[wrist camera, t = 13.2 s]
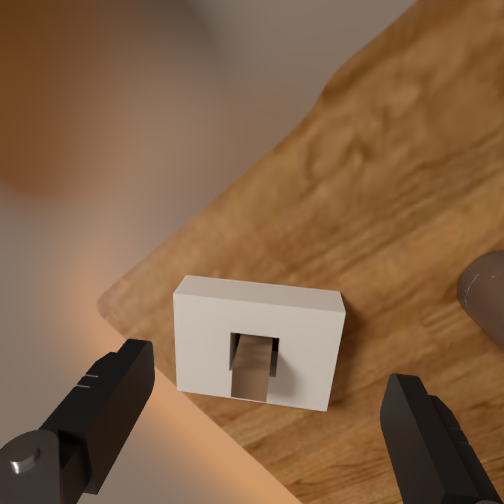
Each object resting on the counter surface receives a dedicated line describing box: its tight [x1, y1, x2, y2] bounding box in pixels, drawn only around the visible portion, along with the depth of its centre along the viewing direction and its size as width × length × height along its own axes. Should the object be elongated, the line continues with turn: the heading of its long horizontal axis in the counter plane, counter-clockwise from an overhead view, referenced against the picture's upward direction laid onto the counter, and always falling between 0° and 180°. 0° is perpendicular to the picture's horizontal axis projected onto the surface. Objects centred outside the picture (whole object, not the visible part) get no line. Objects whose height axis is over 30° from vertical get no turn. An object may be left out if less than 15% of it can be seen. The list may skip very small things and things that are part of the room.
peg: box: [231, 334, 273, 402], centre depth 39 cm, size 4×4×10 cm
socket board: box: [173, 275, 346, 412], centre depth 41 cm, size 20×15×5 cm
